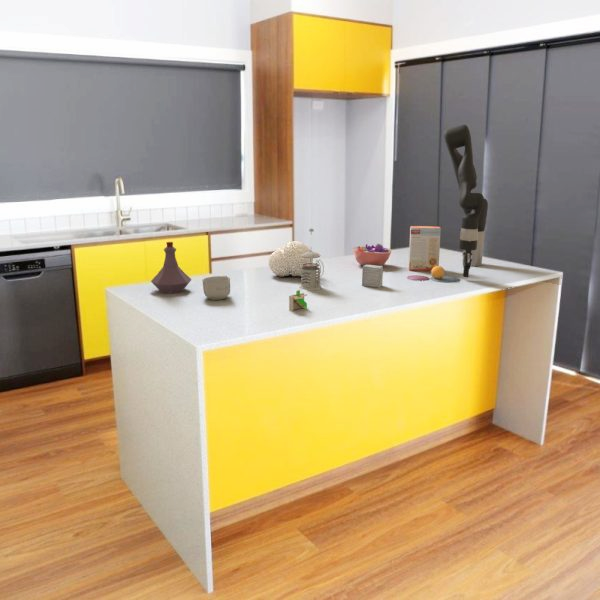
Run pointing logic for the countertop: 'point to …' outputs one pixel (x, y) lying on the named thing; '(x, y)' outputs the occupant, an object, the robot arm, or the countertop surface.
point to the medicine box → (372, 276)
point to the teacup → (216, 287)
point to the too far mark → (418, 277)
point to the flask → (170, 273)
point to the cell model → (372, 255)
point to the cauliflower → (289, 259)
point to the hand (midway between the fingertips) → (465, 276)
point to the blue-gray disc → (446, 279)
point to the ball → (437, 272)
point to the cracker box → (424, 248)
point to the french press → (311, 272)
